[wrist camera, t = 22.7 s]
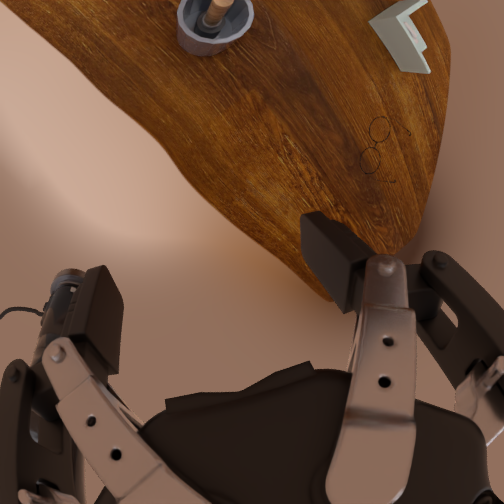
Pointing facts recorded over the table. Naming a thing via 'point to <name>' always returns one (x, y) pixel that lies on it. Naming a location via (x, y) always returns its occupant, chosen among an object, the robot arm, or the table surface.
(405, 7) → the l-shaped corner panel
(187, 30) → the grey cup
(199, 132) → the table surface
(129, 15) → the table surface
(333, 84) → the table surface
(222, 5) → the cylinder with wooden handle
